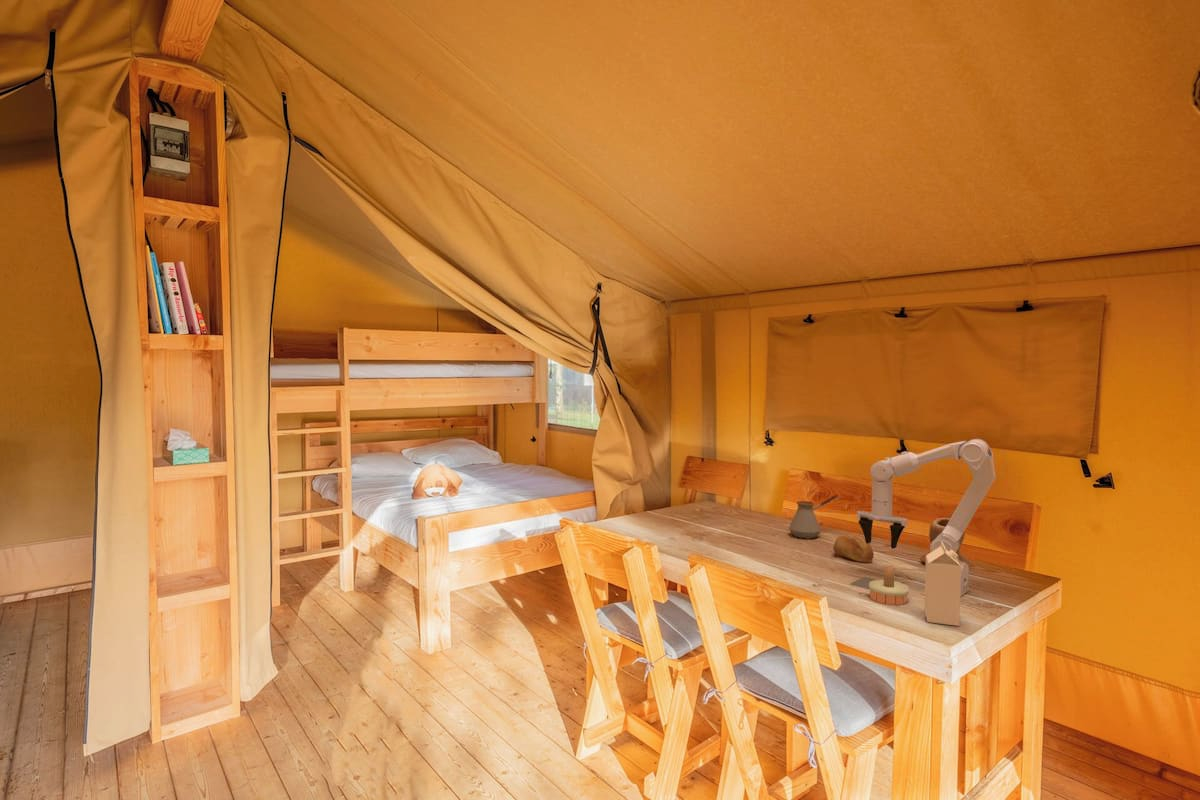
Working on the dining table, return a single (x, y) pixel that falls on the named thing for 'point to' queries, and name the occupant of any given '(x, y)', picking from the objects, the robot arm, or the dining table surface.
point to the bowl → (888, 598)
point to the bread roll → (853, 548)
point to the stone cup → (936, 529)
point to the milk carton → (942, 587)
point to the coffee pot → (806, 520)
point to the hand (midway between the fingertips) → (880, 545)
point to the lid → (889, 584)
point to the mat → (863, 582)
